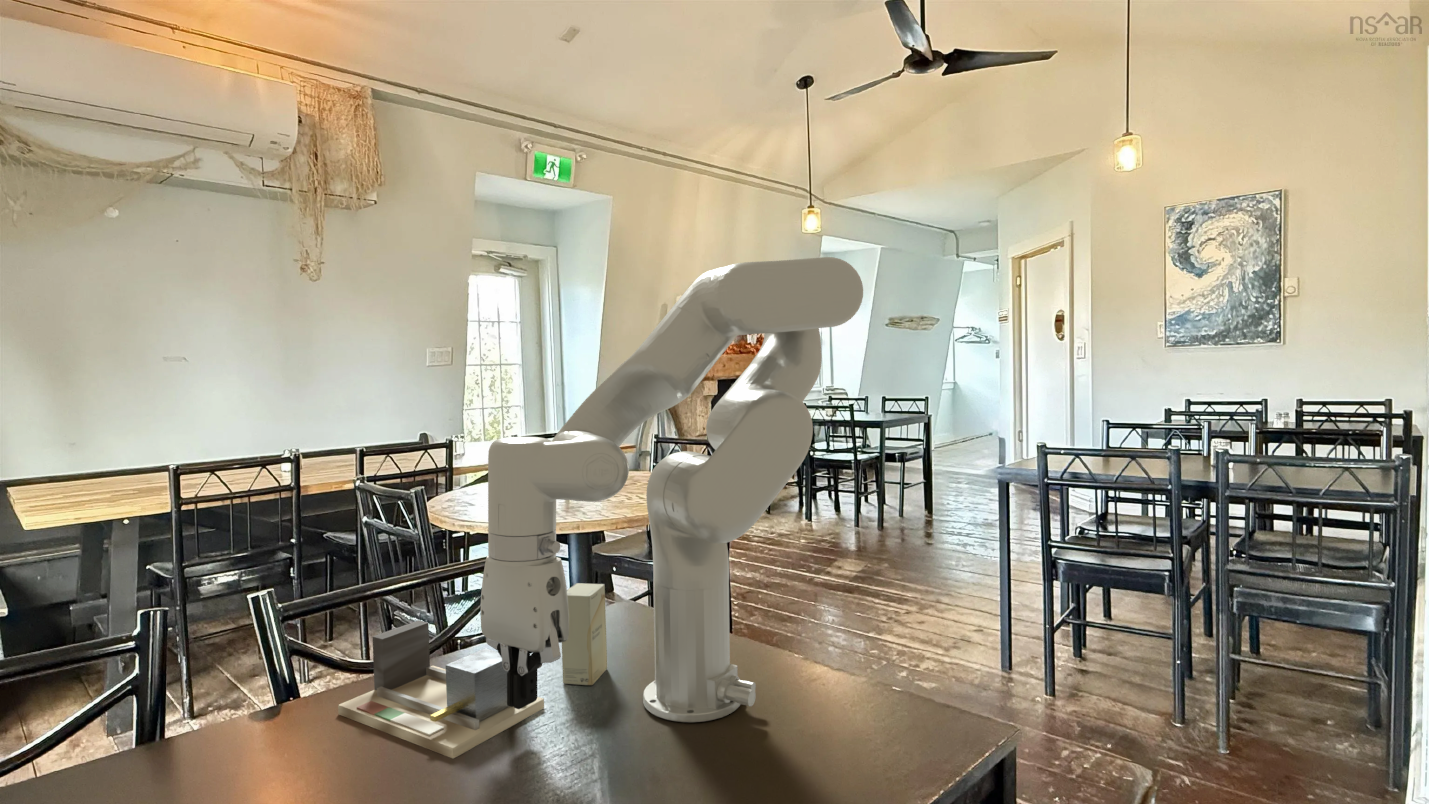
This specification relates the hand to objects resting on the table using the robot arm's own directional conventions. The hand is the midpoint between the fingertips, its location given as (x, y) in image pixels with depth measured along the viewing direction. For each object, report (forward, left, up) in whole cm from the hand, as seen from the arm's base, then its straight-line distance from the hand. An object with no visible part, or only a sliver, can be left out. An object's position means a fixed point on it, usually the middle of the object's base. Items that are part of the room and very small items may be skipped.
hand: (522, 703), depth 88 cm
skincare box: (+5, -17, -4) cm, 18 cm away
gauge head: (+8, +1, -3) cm, 8 cm away
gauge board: (+14, 0, -4) cm, 14 cm away
